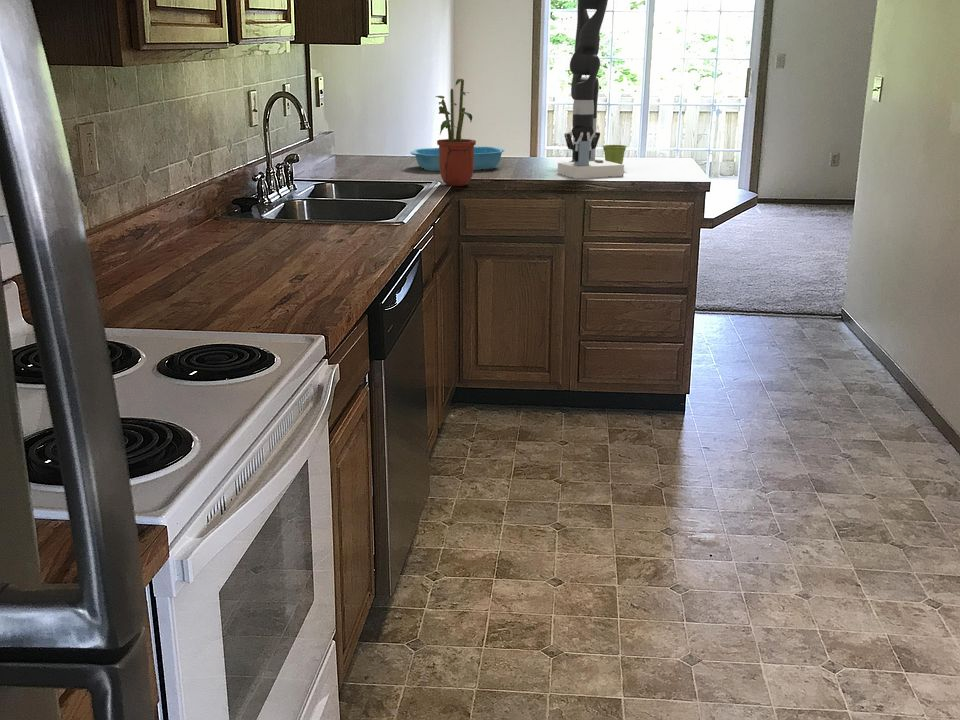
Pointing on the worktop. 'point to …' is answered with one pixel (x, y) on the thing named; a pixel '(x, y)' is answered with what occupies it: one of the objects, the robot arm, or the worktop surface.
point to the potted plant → (455, 146)
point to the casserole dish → (482, 158)
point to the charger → (583, 154)
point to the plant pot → (614, 153)
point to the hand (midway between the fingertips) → (581, 161)
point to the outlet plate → (591, 169)
